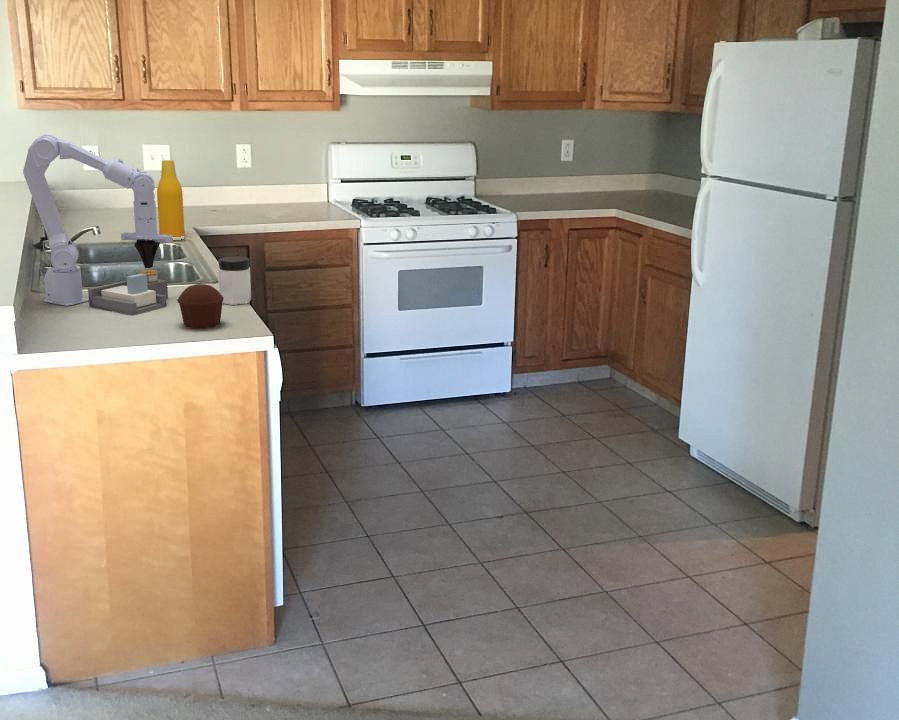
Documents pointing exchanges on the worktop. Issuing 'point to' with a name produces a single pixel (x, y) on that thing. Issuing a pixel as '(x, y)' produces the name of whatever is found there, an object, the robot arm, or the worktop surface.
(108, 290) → the white blue stepped block
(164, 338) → the worktop surface
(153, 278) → the orange round piece
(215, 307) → the muffin
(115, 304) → the housing
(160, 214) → the beer bottle
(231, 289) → the jar
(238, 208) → the worktop surface
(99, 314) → the worktop surface
